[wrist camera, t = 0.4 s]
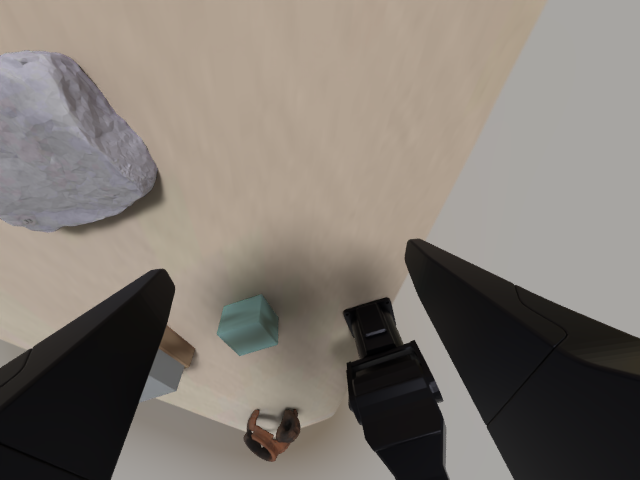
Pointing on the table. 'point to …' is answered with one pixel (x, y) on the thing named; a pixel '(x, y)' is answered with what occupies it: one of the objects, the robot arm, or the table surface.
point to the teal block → (249, 325)
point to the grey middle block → (162, 376)
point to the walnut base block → (177, 347)
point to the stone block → (63, 146)
